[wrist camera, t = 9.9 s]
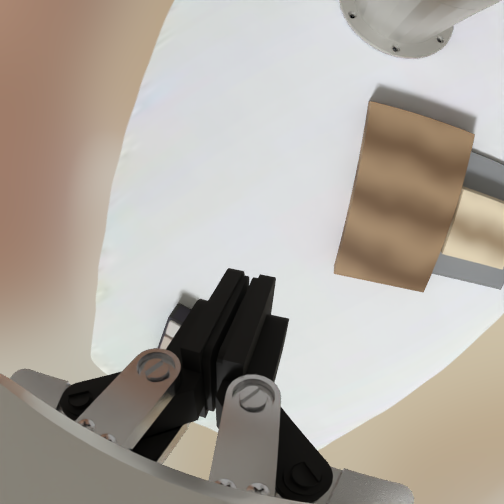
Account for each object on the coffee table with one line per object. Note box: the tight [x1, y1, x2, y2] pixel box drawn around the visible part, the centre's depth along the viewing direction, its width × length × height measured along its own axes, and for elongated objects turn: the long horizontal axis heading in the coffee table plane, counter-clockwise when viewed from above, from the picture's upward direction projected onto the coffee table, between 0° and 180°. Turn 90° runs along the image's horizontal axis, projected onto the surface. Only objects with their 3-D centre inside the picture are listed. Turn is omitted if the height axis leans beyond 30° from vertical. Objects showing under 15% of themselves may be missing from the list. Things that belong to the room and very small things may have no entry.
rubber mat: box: [432, 152, 504, 290], centre depth 29 cm, size 16×13×1 cm
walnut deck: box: [334, 101, 475, 292], centre depth 30 cm, size 20×12×2 cm, turn 175°
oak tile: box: [441, 186, 504, 270], centre depth 28 cm, size 8×10×2 cm
